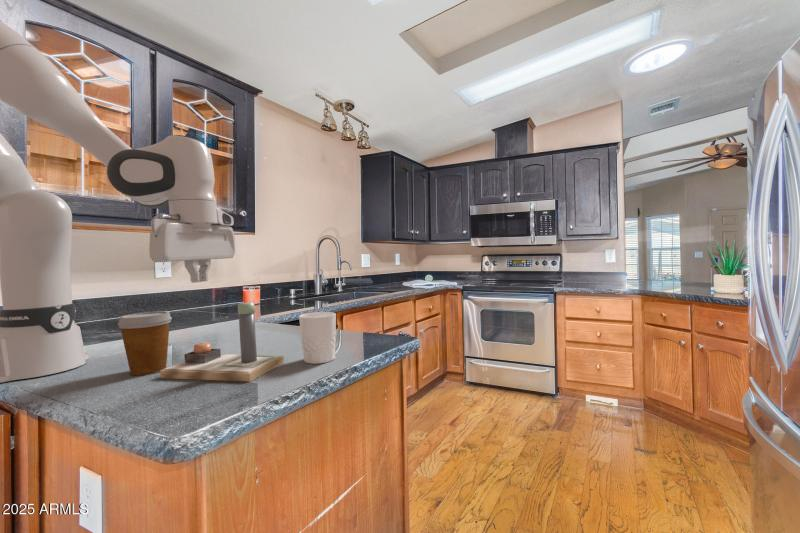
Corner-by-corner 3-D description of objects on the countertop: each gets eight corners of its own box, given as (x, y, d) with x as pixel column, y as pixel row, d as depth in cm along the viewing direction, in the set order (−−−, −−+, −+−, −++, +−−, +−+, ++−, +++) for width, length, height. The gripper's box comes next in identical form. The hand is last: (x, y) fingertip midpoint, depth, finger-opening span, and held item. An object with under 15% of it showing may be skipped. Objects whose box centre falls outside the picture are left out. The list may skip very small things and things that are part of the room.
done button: (190, 355, 78) (190, 346, 78) (201, 351, 81) (201, 342, 81) (203, 356, 78) (203, 346, 77) (214, 351, 81) (214, 342, 81)
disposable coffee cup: (185, 365, 82) (182, 311, 82) (145, 379, 73) (141, 318, 73) (151, 363, 85) (148, 310, 84) (108, 377, 76) (104, 318, 75)
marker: (238, 363, 75) (234, 304, 75) (244, 359, 79) (241, 302, 78) (254, 362, 75) (250, 304, 75) (259, 358, 79) (256, 302, 78)
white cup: (329, 365, 78) (327, 317, 77) (294, 364, 79) (292, 317, 79) (342, 355, 85) (340, 311, 85) (310, 354, 87) (308, 311, 87)
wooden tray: (160, 378, 74) (159, 360, 73) (204, 360, 85) (203, 345, 85) (250, 381, 69) (249, 362, 69) (283, 362, 81) (283, 346, 81)
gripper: (165, 211, 67) (171, 287, 68) (238, 218, 87) (242, 277, 88) (136, 213, 69) (143, 288, 69) (215, 220, 89) (219, 278, 89)
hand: (199, 281), depth 79 cm, fingers closed
